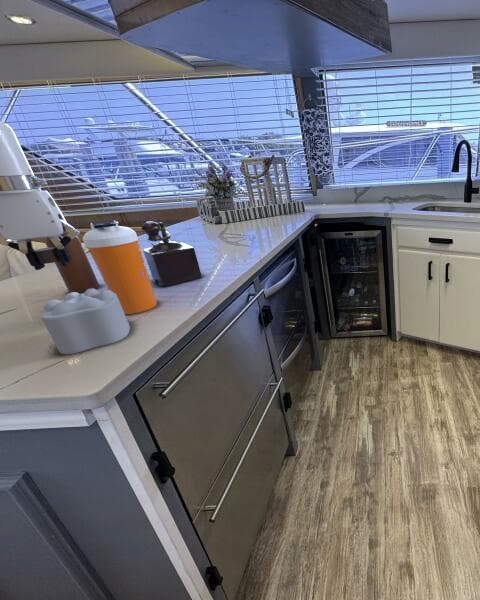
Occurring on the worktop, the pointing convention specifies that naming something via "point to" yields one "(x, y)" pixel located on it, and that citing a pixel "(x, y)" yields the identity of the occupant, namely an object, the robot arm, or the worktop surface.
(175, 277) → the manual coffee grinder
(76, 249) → the bottle
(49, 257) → the cap
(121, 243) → the shaker bottle
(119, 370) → the worktop surface
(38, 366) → the worktop surface
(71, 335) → the lumpy-topped squat cylinder
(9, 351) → the worktop surface
